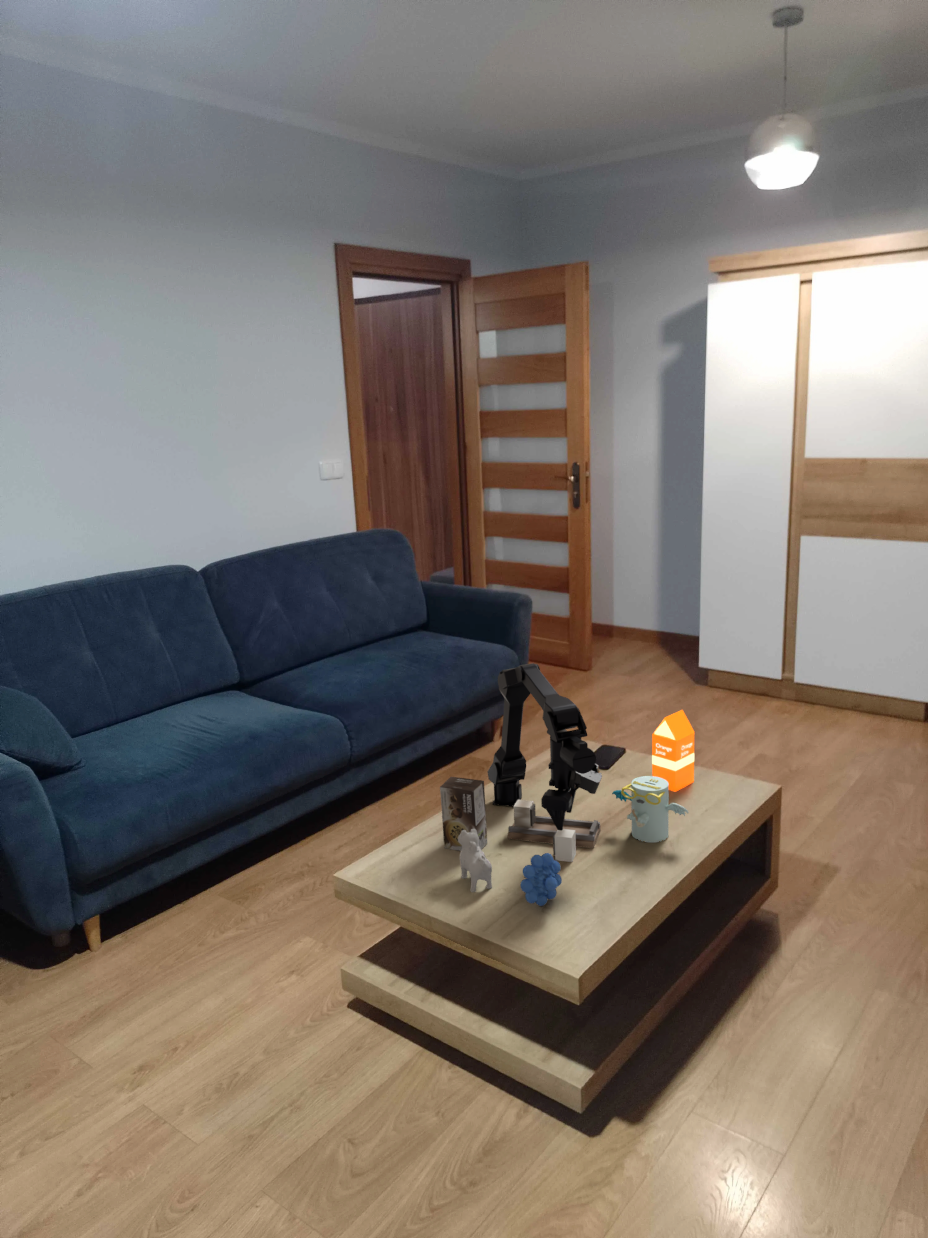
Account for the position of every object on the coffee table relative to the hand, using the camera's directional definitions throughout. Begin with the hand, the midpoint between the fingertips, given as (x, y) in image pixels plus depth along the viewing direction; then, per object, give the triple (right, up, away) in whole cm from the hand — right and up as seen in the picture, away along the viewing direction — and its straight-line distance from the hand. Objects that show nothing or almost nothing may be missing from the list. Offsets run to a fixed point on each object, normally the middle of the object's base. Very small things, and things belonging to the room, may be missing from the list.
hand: (564, 821), depth 210 cm
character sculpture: (+21, -6, +10) cm, 24 cm away
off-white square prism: (+1, -9, +2) cm, 9 cm away
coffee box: (-23, -8, +10) cm, 26 cm away
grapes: (-6, -14, -18) cm, 24 cm away
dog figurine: (-21, -12, -6) cm, 25 cm away
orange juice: (+34, +2, +39) cm, 52 cm away
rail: (-1, -6, +13) cm, 14 cm away
